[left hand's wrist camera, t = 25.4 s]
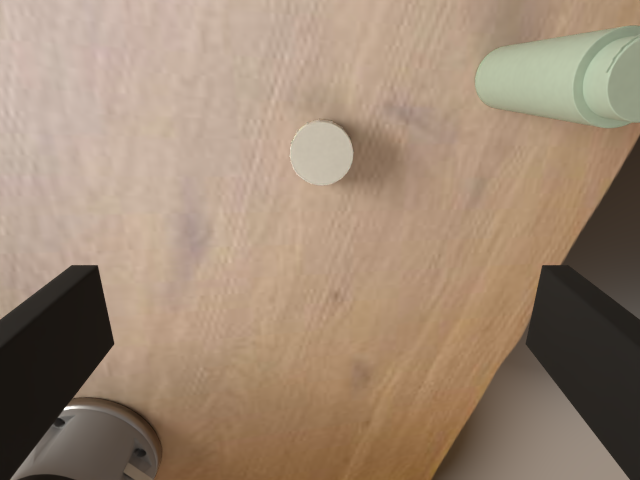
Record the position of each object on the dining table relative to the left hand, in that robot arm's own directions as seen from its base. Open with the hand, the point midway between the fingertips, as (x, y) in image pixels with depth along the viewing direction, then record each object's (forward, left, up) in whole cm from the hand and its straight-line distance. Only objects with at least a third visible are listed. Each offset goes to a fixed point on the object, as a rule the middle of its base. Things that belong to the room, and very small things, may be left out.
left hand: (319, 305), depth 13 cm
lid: (0, 0, -26) cm, 26 cm away
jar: (+13, -11, -28) cm, 32 cm away
